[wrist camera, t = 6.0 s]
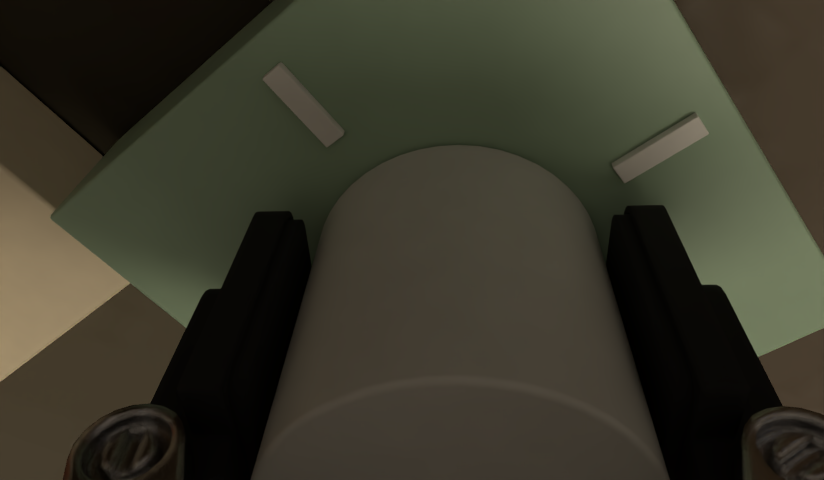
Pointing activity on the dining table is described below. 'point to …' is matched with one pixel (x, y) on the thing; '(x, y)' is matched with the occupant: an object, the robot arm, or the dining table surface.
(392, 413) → the timer dial
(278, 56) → the dial panel
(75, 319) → the housing
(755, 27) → the dining table surface
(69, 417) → the dining table surface
